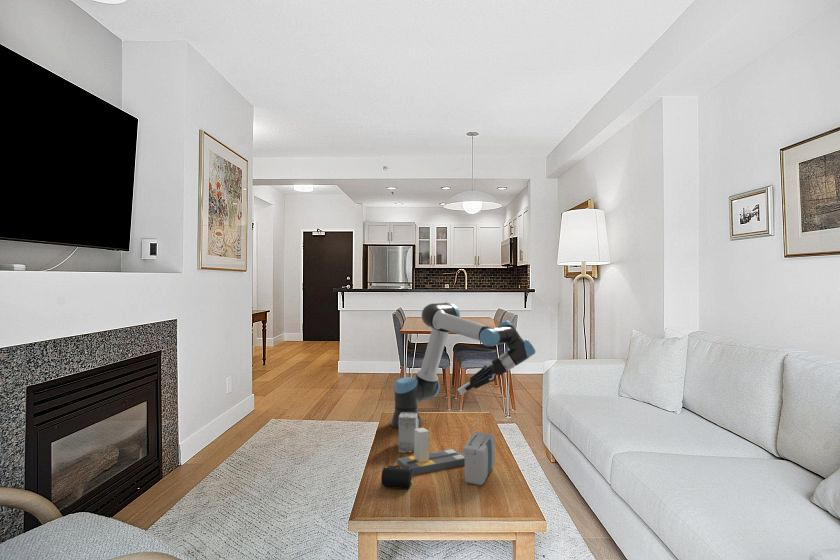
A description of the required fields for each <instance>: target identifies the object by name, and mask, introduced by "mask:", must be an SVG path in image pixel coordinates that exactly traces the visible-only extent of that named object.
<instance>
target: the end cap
mask: <svg viewBox="0 0 840 560" xmlns="http://www.w3.org/2000/svg"><path fill="white" fill-rule="evenodd" d="M411 473H412V468H411V467H406V466H405V467H403V468H402V469H401V468H397V465H388V466H387V467H383V468H382V471H381V478H380V481H381V485H382V486H383V487H384V488H385V487H387V488H396V489H405V490H410V488H411V487H412V484H413V483H412V480H413V475H411Z"/></svg>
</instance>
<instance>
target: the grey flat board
mask: <svg viewBox="0 0 840 560" xmlns="http://www.w3.org/2000/svg"><path fill="white" fill-rule="evenodd" d="M396 463H397V464H398V465H399V466H400V467H401V468H403V467H405V466H406V467H411V468H412V473H411V476H415V475H420V474H425V473H430V472H436V471H439V470H440V471H441V470H445V469H447V470H448V469H451V468H452V469H453V468H456V467H463V466H465V454H463V453H461V452H460V451H458V450H457V449H455V448H450V449H444V450H443V449H442V450H440V451H439V450H438V451H433V452H429V461H427V462H421V463H419V462H418V461H417V460H416V459H414V455H410V456H404V457H399V458H396ZM397 464H396V465H397ZM398 465H397V466H398ZM399 466H398V467H399ZM400 467H399V468H400ZM401 468H400V469H401Z"/></svg>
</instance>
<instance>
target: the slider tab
mask: <svg viewBox="0 0 840 560" xmlns="http://www.w3.org/2000/svg"><path fill="white" fill-rule="evenodd" d="M413 452H414V453H413V456H414V459H416V460H417V461H418V462H419V463H421V462H427V461H429V453H430V431H429V430H428V429H426V428H424V427H419V428H417V429H414V451H413Z"/></svg>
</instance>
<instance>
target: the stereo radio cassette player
mask: <svg viewBox="0 0 840 560" xmlns="http://www.w3.org/2000/svg"><path fill="white" fill-rule="evenodd" d="M476 417H477V418H476V420H475V424H474V426H473V428H472V432H471V435H470V436H471V437H470V438H469V440H468V441H467V442H465V444H464V445H463V447H462V449H461V450H462V454H463V453H464V455H465V465H464V483H466V484H471V485H476V486H477V485H478V486H480V487H481V486H482V485H483V484H484V483H485V481H486V480H487V478H488V476H489V475H490V472H491V471H492V469H493V467H494V465H495V463H496V462H495V461H496V438H495V437H496V436H495V434H493V433H486V432H478V431H476V432H475V429H476V426H477V422H478V419H479V415H477V416H476Z"/></svg>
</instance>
